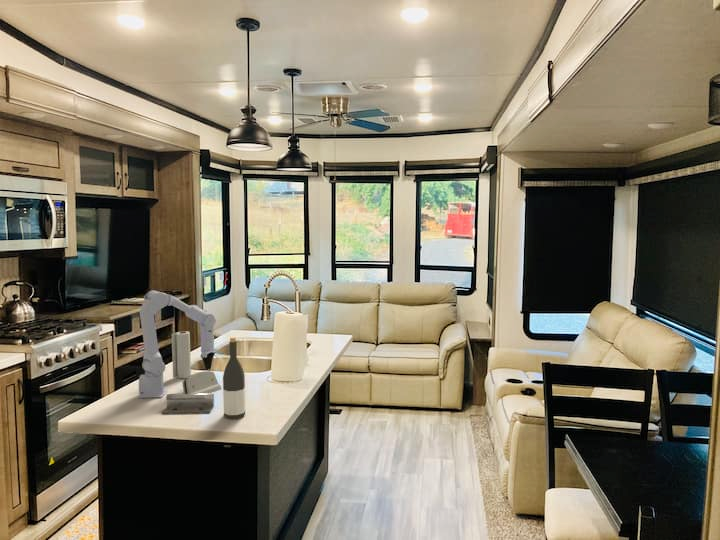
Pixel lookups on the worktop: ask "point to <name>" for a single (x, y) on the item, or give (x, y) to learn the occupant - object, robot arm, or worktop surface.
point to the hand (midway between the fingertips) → (208, 369)
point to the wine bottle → (234, 385)
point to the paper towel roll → (181, 354)
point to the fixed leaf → (189, 403)
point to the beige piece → (201, 383)
